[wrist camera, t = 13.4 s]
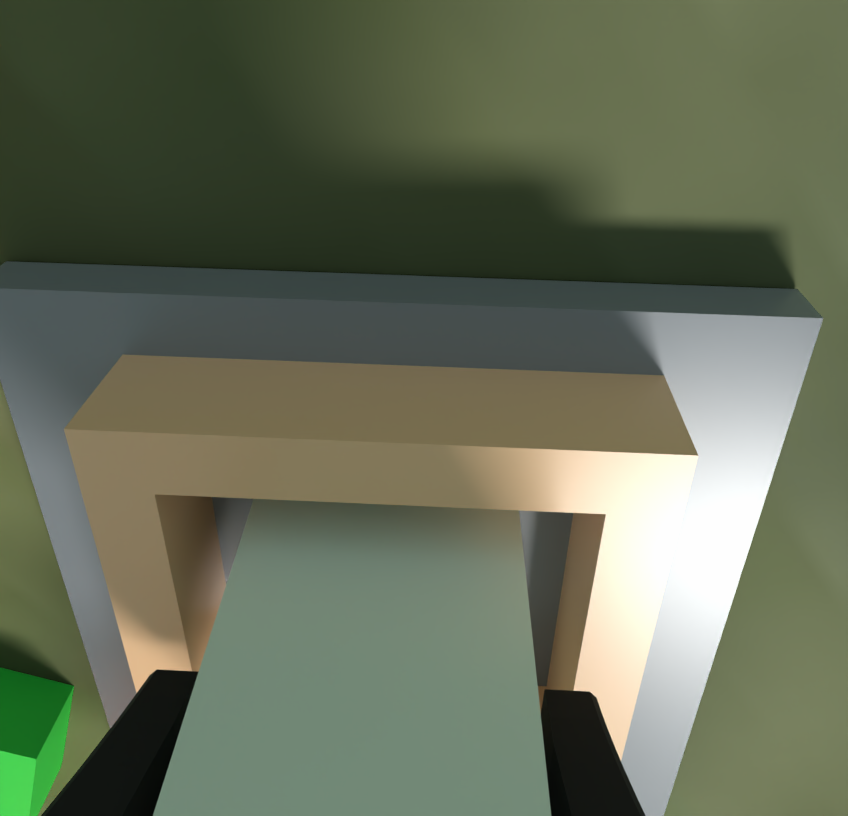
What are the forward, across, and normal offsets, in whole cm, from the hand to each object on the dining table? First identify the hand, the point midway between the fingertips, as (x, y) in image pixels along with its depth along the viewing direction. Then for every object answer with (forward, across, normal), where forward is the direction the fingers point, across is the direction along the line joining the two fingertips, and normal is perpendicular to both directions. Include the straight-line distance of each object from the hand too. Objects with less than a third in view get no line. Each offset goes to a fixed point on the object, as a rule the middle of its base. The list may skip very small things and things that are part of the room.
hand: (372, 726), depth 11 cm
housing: (+4, 0, +5) cm, 7 cm away
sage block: (+3, 0, 0) cm, 3 cm away
